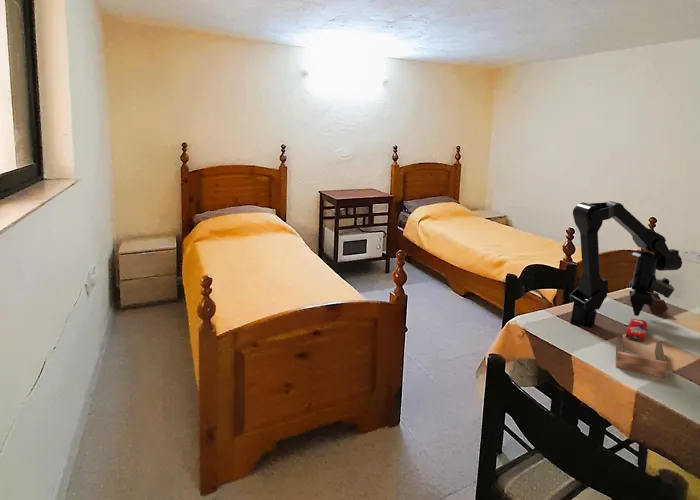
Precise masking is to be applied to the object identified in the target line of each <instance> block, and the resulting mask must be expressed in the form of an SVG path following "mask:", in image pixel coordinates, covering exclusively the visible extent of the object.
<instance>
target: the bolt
mask: <svg viewBox="0 0 700 500" xmlns="http://www.w3.org/2000/svg"><path fill="white" fill-rule="evenodd" d="M648 293H650V292H648ZM651 294H652V295H653V296H654V303H653V305H647V307H648V308H649V311H650V313H651V314H655V315H663V314H665V313H666V312H667V311H668V309H669V308H668V305H667V302H666V301H665V299H661V297H660V294H659V293H657V292H655V291H654V293H651Z"/></svg>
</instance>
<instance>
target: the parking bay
mask: <svg viewBox="0 0 700 500" xmlns="http://www.w3.org/2000/svg"><path fill="white" fill-rule="evenodd" d="M623 337H624V336H623V334H621V333H617V336H616V343H615V368H620V369H624V370H629V371H632V372H633V371H634V372H638V373H640V374H641V373H642V374H646V375H648V376H649V375H650V376H655V377H657V378H663V379H664V378H665V376H666V371H667V366H668V362H667V361H666V359H665V352H664V346H663V342H660V341H656V345H655V348H654V355H655V358H651V357H646V356H643V355H637V354H632V353H628V352H623V346H624V345H623V342H624V340H623V339H624V338H623Z"/></svg>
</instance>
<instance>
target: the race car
mask: <svg viewBox="0 0 700 500" xmlns="http://www.w3.org/2000/svg"><path fill="white" fill-rule="evenodd" d="M626 326H627V328H626V331H625V338H628V339H629V340H630V339H631V340H633V341H639V342H645V340H646V335H647V331H648V322H647V320H644V319H640V318H631V319H629V321H628V324H626Z"/></svg>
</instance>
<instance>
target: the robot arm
mask: <svg viewBox="0 0 700 500" xmlns="http://www.w3.org/2000/svg"><path fill="white" fill-rule="evenodd" d="M572 216H573V220H574V223H575V225H576V228H577V230H578V231H579V236H580V253H581V266H582V267H581V268H582V269H581V270H582V274H581V276H580V277H579V280H578V285H577V287H576V288H575V289H574V290H573V291H572V292H571V293H569V300H570V301H571V302H573V303H572V304H573V305H572V312H571V317H570V321H569V323H570V324H572V325H578V326H582V327H587V328H593V325H595V323H596V317H597V311H598V310H600V309H601V307H602V305H603V303H604V301H605V300H606V299H607V296H608V293H610V291H609V289H608V286H609V281H608V279H606V278H604V277H602V276H601V272H600V270H601V269H600V268H601V267H600V251H599V250H600V249H599V231H600V229H601V227H602V226H603V223H604V222H603V221H606V220H610V219H613V220H614V221H615V222H616V223H618V224H619V225H620V227H622V228H623V229H624V230H625V231H626V232H628V234H630V235H631V236H632V241H633V242H634V243H635V245H636V246H637V248H640V249H637V250H636V251H634V252H632V253H631V254H630V255H631V257H634V258H635V259H636V260H635V261H636V262H635V266H634V270H633V277H632V279H631V280H630V281H629V285H628V286H629V289H630V288H631V290H629V301H630V304H631V307H632V311H633V315H634V316H635V317H639V316H640V313H641V311H642V310H643V308H644V306H645V305H646V306H648V305H653V303H654V296H653V295H652V294H651V293H654V292H655V293H658V295H661V296H663V297H665V298H667V299H669V298H670V296H671V295H672V294H673V293H674V291H675V288H674V286H673V285H672V284H670V279H668V278H666V277H664V278H661V279H660V278H659V279H658V278H657V277H656V273H657V271H661V272H663V271H664V272H665V271H678V270H680V269H681V268H682V265H683V259H682V257H681V256H680V254H679V253H680V250H678V249H675V248H671V249H669V247H668V244H667V243H666V242H667V239H666V237H665V236H664V235H662V234H661V233H660V232H659V233H658V232H657V231H654V230H652V229H650V228H649V227H646V225H644V224H643V223H642V222H641V221H640V220H639V219H638V218H636V216H634V215H633V214H632V213H631V212H630V211H629V210H628V209H626V207H624V205H623V204H622V203H620V202H618V201H617V202H616V201H611V200H610V201H605V202H592V203H589V202H588V203H587V202H585V201H584V202H579V203H578V204H577V205H576V206H575V207H573V210H572ZM641 249H643V250H641ZM644 250H646V251H644ZM648 292H650V293H648Z"/></svg>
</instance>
